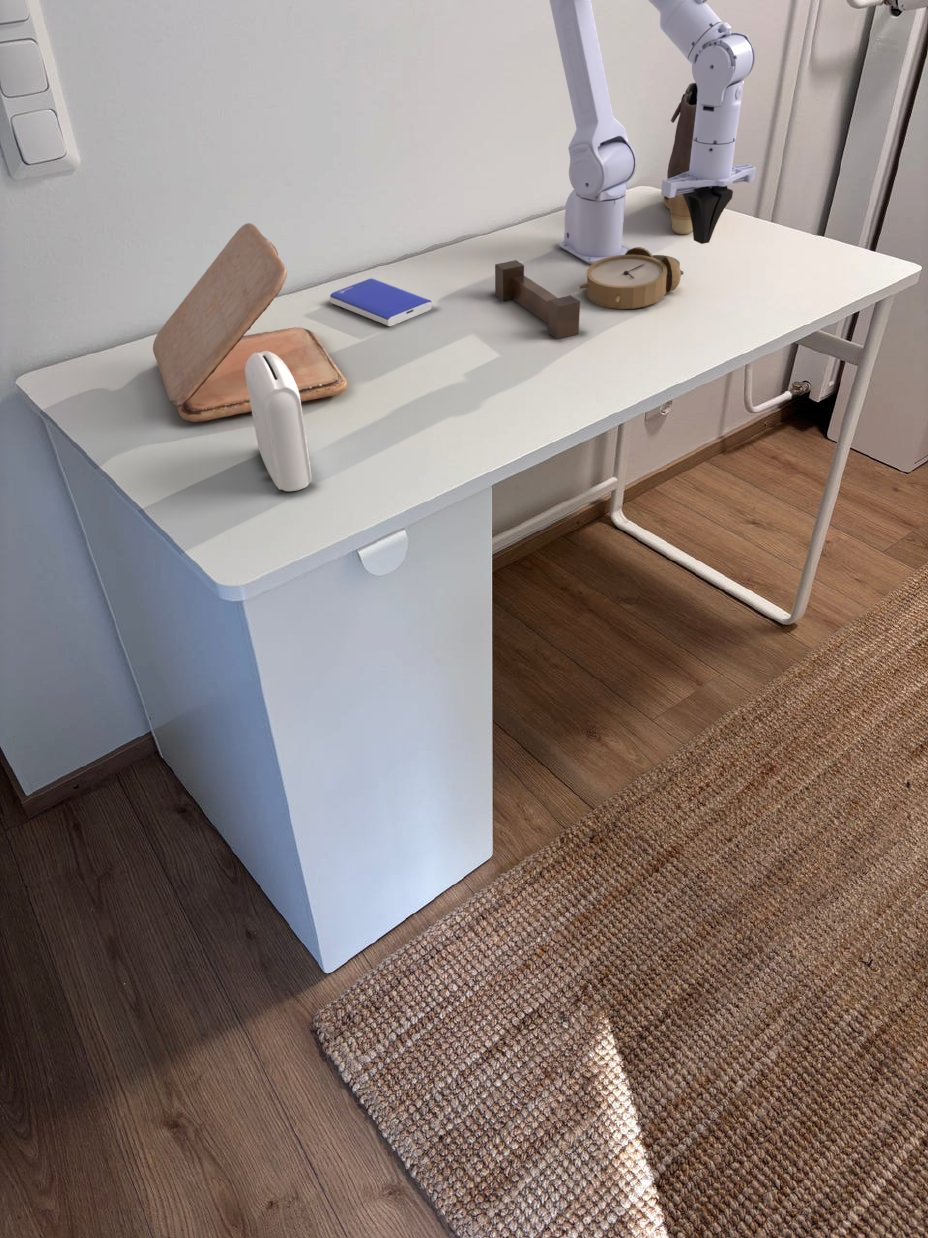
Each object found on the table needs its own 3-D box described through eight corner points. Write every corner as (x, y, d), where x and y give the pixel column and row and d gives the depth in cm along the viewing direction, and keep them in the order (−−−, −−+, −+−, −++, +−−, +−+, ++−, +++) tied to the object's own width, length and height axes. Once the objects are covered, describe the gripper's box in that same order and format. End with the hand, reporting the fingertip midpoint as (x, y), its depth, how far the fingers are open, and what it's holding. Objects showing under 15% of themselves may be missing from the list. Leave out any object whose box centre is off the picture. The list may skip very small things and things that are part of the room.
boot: (714, 193, 174) (731, 66, 162) (713, 239, 156) (731, 100, 144) (664, 192, 176) (677, 65, 163) (657, 237, 158) (671, 99, 145)
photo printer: (255, 450, 108) (236, 344, 100) (293, 442, 109) (277, 337, 101) (277, 497, 101) (257, 386, 93) (317, 487, 102) (301, 377, 94)
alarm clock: (568, 273, 139) (643, 230, 144) (571, 305, 142) (644, 262, 147) (625, 296, 132) (701, 250, 137) (627, 328, 135) (701, 283, 140)
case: (154, 360, 127) (124, 234, 116) (312, 333, 132) (296, 209, 122) (176, 431, 112) (143, 294, 102) (353, 397, 117) (339, 263, 107)
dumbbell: (495, 295, 141) (494, 263, 138) (516, 290, 142) (516, 259, 139) (556, 339, 129) (557, 305, 126) (579, 333, 130) (581, 300, 127)
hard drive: (329, 293, 139) (387, 316, 132) (372, 276, 143) (431, 298, 136) (330, 304, 140) (388, 327, 133) (373, 287, 144) (432, 309, 137)
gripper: (688, 153, 127) (676, 258, 136) (776, 137, 132) (759, 240, 140) (656, 141, 132) (647, 243, 141) (742, 126, 137) (728, 226, 145)
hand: (701, 241), depth 141 cm, fingers closed
